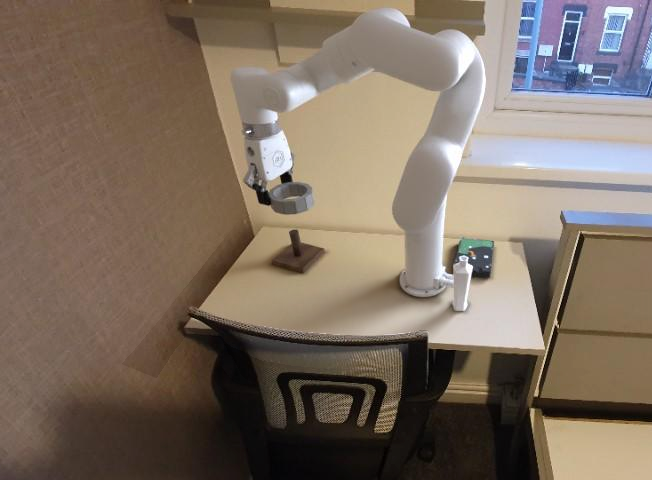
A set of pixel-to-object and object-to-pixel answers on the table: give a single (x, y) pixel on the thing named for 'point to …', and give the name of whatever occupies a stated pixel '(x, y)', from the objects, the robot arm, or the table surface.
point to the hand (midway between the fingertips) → (277, 195)
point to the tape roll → (291, 205)
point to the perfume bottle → (461, 283)
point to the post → (298, 254)
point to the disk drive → (477, 255)
